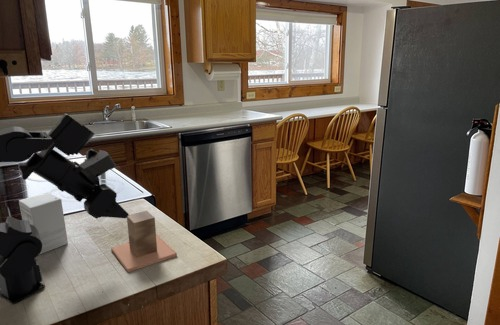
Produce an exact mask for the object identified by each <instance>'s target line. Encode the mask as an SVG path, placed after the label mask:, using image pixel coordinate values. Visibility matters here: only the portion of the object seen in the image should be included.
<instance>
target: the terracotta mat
mask: <svg viewBox="0 0 500 325" xmlns="http://www.w3.org/2000/svg"><path fill="white" fill-rule="evenodd" d="M156 242H157V252H153V253H150V254H147V255H144V256H141V257H138V258H137V257H136V256H135V254H134V253H133V252H132V251H131V250H130V245H129V242H125V243H121V244H119V245H118V244H117V245H114V246H112V247H111V248H110V250H111V252H112V253H113V255H114V256H115V257H116V258H117V259H118V261H119V263H121V265H122V267H123V268H124V269H125V270H126V272H127V273H130V272H133V271H136V270H138V269H139V270H140V269H142V268H145V267H148V266H150V265H154V264H156V263H159V262H164V261H165V260H168V259H172V258H174V257H177V253H178V252H177V251H175V250H174V249H173V248H172V247H171V246H170V245H169V244H168V243H167V242H166V241H165V240H164V239H162V238H161V237H160V236H159V235H158V234H157V233H156Z"/></svg>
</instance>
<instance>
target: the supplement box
mask: <svg viewBox="0 0 500 325" xmlns="http://www.w3.org/2000/svg"><path fill="white" fill-rule="evenodd" d="M18 205H19V210H20V215H21V216H20V217H21V220H23V221H25V220H29V223H30V224H31V225H33V226H35V227H36V229H37V230H38V232H39V236H40V239H41V242H42V250H41V252H40V254H39V255H43V254H45V253H47V252H50V251H53V250H54V249H57V248H60V247H62V246H65V245H68V243H69V241H68V235H67V228H66V223H65V215H64V208H63V201H62V199H61V198H60V197H58V196H57V195H54V194H52V193H50V192H45V193H42V194H38V195H33V196H30V197H27V198H23V199H19V200H18Z"/></svg>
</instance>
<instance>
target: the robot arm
mask: <svg viewBox="0 0 500 325" xmlns="http://www.w3.org/2000/svg"><path fill="white" fill-rule="evenodd" d="M95 135H96V134H95V133H94V131H91V129H89V128H88V127H86V126H85V125H84V124H82V123H81V122H80V121H77V120H76V119H74V118H72V116H70V115H69V114H67V113H64V114H63V115H62V116H61V117H60V119H59V121H58V122H57V123H56V124H55V125H54V127H52V128H51V130H50V131H49V132H47V131H28V130H27V129H25V128H24V127H22V126H18V125H17V126H16V125H15V126H8V127H5V128H1V129H0V163H18V164H17V165H18V168H19V169H20V175H21V179H22V180H24V181H25V180H27V179H28V178H29V177H30V176H31V175H32V174H35V175H37V176H38V177H40V178H41V179H44V180H45V181H47V182H49V183H50V184H52V185H54V186H55V187H56V188H57V189H58V191H61V192H62V193H63V192H65V193H67V194H68V195H70V196H72V197H73V198H74V199H75V200H76V201H77V202H79V203H82V200H84V202H83V208H84V210H85V212H86V213H87V214H88V215H89V216H91V217H93V218H94V219H100V218H114V219H115V218H117V219H127V217H128V215H130V214H129V213H128V212H127V211H126V210H125V209H124V208H123V207H122V206H121V205H120V204H119V203H118V202H117V196H118V195H117V192H116V191H114V189H112V188H111V187H110V186H108V185H107V184H105V183H104V184H100V176H101V175H103V174H105V173H106V172H108V171H110V170H113V169H114V168H115V167H116V166H117V164H116V163H115V162H114V160H113V158H112V157H111V156H110V154H109V153H108V152H107V151H105V150H101V149H100V150H98V151H97V150H95V149H93V148H90V149H88V150H87V151H85V158H84V160H83V162H81V163H78V162H77V161H73V160H70V159H68V157H69V156H74V155H79V153H81V151H82V150H83V149H84V148H85V146H86V145H87V144H88V143H89V142H90V141H91V139H92V138H93V137H94V136H95ZM55 149H57V150H59V151H60V152H61V153H63V154H65V155H66V156H67V157H65V156H64V155H62V154H61V153H60V152H58V151H57V150H55ZM24 161H25V162H24ZM41 250H42V242H41V239H40V236H39V232H38V230H37V229H36V227H35V226H33V225H31V224H30V223H29V220H25V221H23V220H22V219H18V218H15V217H12V216H7V217H6V221H5V222H0V297H2V298H3V299H4V300H6V301H7V302H9V303H10V304H17V303H19V302H20V301H22V300H25V299H26V298H28V297H30V296H32V295H34V294H36V293H37V292H39V291H42V290H43V289H45V287H46V285H45V284H44V283H42V282H43V281H42V280H43V277H42V271H41V266H40V264H38V263H37V259H36V258H37V257H38V256H39V255H41V254H40V252H41Z"/></svg>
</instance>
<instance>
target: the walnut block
mask: <svg viewBox="0 0 500 325" xmlns="http://www.w3.org/2000/svg"><path fill="white" fill-rule="evenodd" d="M126 222H127V233H128V241H129V245H130V250H131V251H132V252H133V253H134V254H135V256H136V257H137V258H138V257H141V256H144V255H147V254H150V253H153V252H157V242H156V234H157V229H156V217H155V216H153V214H151V212H149V210H145V211H140V212H136V213H132V214H129V215H128V217H127V218H126Z"/></svg>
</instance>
